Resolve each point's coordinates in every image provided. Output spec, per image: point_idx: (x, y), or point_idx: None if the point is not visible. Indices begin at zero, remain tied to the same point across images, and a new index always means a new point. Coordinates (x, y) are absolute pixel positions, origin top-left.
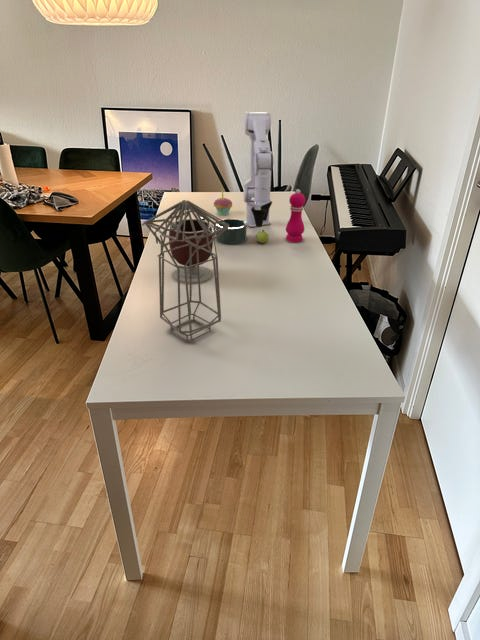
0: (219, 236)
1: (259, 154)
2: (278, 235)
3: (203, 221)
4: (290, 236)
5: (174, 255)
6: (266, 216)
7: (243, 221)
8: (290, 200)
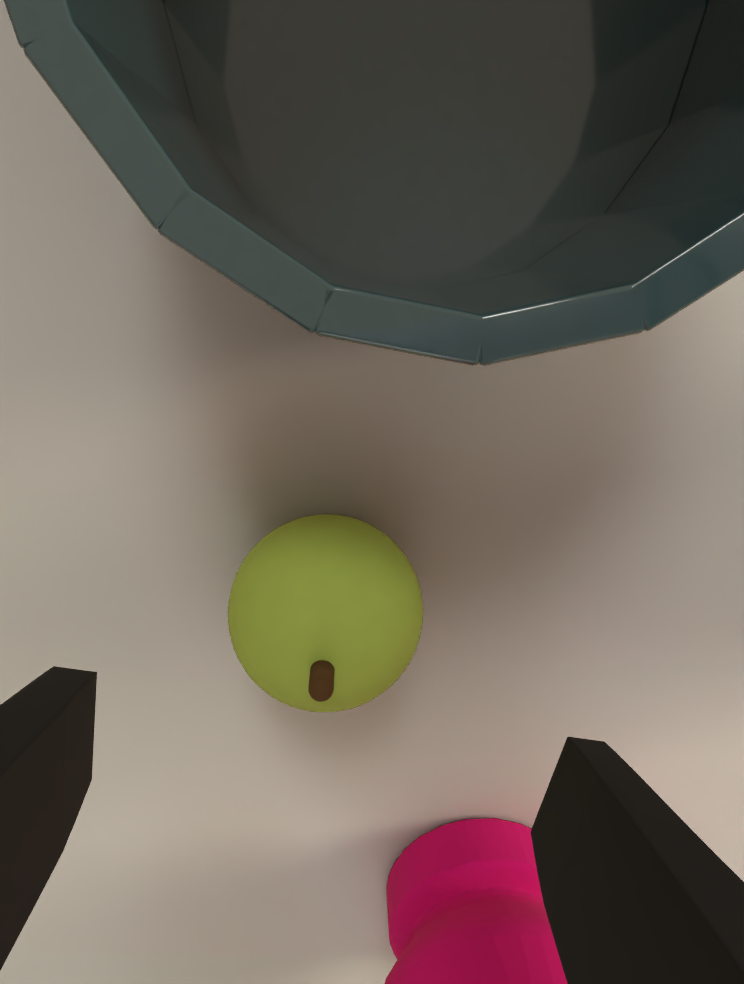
0: None
1: None
2: (621, 735)
3: None
4: (427, 908)
5: None
6: (565, 947)
7: (697, 255)
8: None
